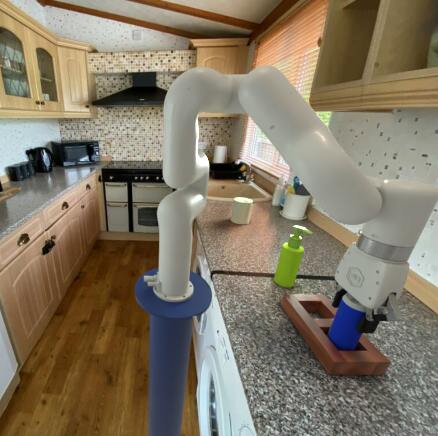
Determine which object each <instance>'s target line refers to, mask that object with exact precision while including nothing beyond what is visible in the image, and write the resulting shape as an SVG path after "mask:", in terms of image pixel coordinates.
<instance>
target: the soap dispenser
mask: <svg viewBox="0 0 438 436" xmlns="http://www.w3.org/2000/svg"><path fill="white" fill-rule="evenodd" d="M291 228H292V229H294V231H293V234H290V235H289V236H288V241H287V242H284V243H282V244H281V249H280V253H279V258H278V261H277V264H276V269H275V271H274V272H275V273H274V277H273V281H274V283H275V284H276V285H278V286H279V287H283V288H287V289H288V288H289V289H290V288H293V287H294V286H295V282H296V279H297V276H298V272H299V269H300V265H301V262H302V260H303V255H304V252H305V248H304V247H303V246H302V243H303V237H302V236H301V234H302V233H304V234H305V235H306V236H310V235H313V234H314V232H313V231H312V230H310V229H308V228H307V227H304V226H301V225H297V224H295V225H292V226H291Z"/></svg>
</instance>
